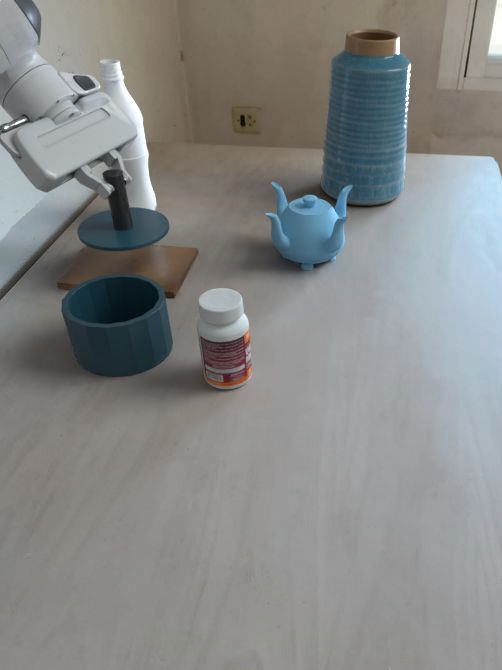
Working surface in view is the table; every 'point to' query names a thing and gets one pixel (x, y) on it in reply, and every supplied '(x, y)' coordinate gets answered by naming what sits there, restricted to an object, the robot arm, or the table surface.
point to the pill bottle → (224, 339)
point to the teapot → (308, 228)
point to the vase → (367, 119)
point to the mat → (133, 265)
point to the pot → (118, 324)
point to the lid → (122, 222)
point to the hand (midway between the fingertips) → (119, 189)
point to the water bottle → (137, 153)
